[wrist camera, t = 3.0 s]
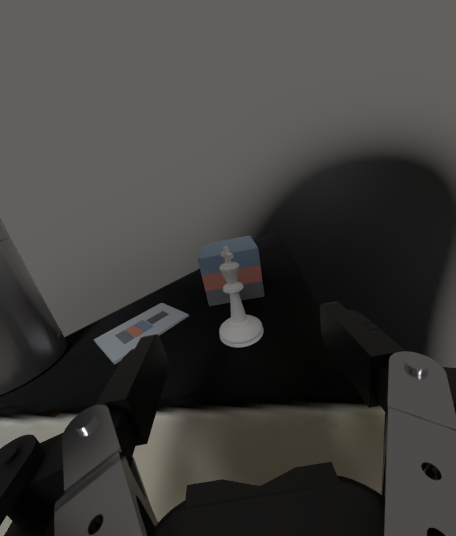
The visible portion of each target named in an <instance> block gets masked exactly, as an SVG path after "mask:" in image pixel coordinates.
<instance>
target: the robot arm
mask: <svg viewBox="0 0 456 536" xmlns="http://www.w3.org/2000/svg"><path fill="white" fill-rule="evenodd" d="M320 320H321V334H322V338H323V340H324V343H325V344H326V346H327V347H328V349H329V350H330V352H331V353H332V355H333V356H334V357H335V359H336V360H337V362H338V363H339V365H340V366H341V368H342V369H343V370H344V372H345V373H346V375H347V376H348V378H349V379H350V381H351V382H352V383H353V385H354V386H355V388H356V389H357V391H358V392H359V394H360V395H361V396H362V398H363V399H364V401H365V402H366V404H367V405H368V407H375V406H381V407H382V408H383V410H384V411H385V426H384V450H383V472H382V490H381V494H379V493H378V492H376V491H375V490H373V489H371V488H369V487H368V486H366V485H364V484H362V483H359V482H357V481H355V480H352V479H349V478H346V477H342V476H337V475H336V472H335V470H334V467H333V465H332V462H327V463H321V464H315V465H309V466H303V467H296V468H294V469H292V470H290V471H288V472H286V473H284V474H283V475H281V476H279V477H277V478H275V479H273V480H271V481H269V482H268V483H266V484H264V485H261V486H255V485H250V484H244V483H239V482H233V481H227V480H216V481H210V482H204V483H198V484H191V485H187V492H186V500H185V501H183V502H182V503H180V504H179V505H177V506H176V507H175V508H173V509H172V510H171V511H170V512H169V513H167V514H166V515H165V516H164V517H163V518H162V519H161V520H160V521H159V523H158V521H157V519H156V517H155V515H154V512H153V510H152V507H151V505H150V502H149V499H148V496H147V494H146V491H145V488H144V485H143V482H142V479H141V476H140V474H139V471H138V468H137V465H136V462H135V459H134V457H133V452H134V449H135V446H137V445H143V444H147V442H148V439H149V435H150V432H151V428H152V425H153V421H154V418H155V415H156V411H157V408H158V404H159V401H160V397H161V394H162V390H163V387H164V384H165V380H166V377H167V373H168V359H167V356H166V353H165V350H164V348H163V345H162V342H161V339H160V337H159V335H158V334H155V335H149V336H144V337H141V338H140V340H139V342H138V343H137V345H136V347H135V349H131V350H130V351H129V352H128V353H127V354H126V355H125V356H124V357H123V358H122V360H121V362H120V363H119V365H118V368H117V369H116V370H115V372H114V374H113V377H111V379H110V380H109V382H108V384H107V386H106V387H105V389H104V391H103V392H102V394H101V396H100V398H99V399H98V401H97V403H96V404H95V406H92V407H90V408H87V409H86V410H84V411H83V412H81V413H80V414H79V415H77V416H76V417H75V418H74V419H73V420H72V421H71V422H70V423H69V425H68V426H67V428H66V429H65V431H64V433H62V434H59V435H57V436H55V437H53V438H51V439H48V440H46V441H44V442H42V443H39V442H38V440H37V439H36V437H35V436H34V435H24V436H21V437H19V438H17V439H15V440H13V441H11V442H9V443H8V444H6V445H5V446H4V447H2V448H1V449H0V525H1V524H2V522H3V520H4V519H5V517H6V516H8V517H9V518H10V519H11V520H12V523H11V525H10V527H9V528H8V530H7V532H6V533H5V535H4V536H456V368H446V367H442V366H441V365H440V364H438V363H437V362H436V361H434V360H432V359H431V358H429V357H427V356H424V355H421V354H418V353H414V352H406V351H405V350H403V348H401V347H400V346H399V345H397V343H395V342H394V341H393V340H392V339H391V338H390V337H389V336H387V335H386V334H385V333H384V332H383V331H381V330H380V329H378V327H377V326H376V325H375V324H373V323H372V322H371V321H370V320H368V319H367V318H366V317H365V316H364V315H362V314H360V313H358V312H356V311H354V310H347V309H345V308H344V307H343V306H342V305H341V304H340V303H339V302H331V303H326V304H321V305H320ZM66 347H67V342H66V340H65V338H64V336H63V334H62V332H61V330H60V328H59V327H58V325H57V323H56V321H55V319H54V318H53V316H52V314H51V312H50V310H49V308H48V306H47V304H46V303H45V301H44V299H43V297H42V295H41V293H40V292H39V290H38V288H37V286H36V284H35V282H34V280H33V279H32V277H31V275H30V273H29V271H28V270H27V267H26V266H25V264H24V262H23V260H22V258H21V256H20V254H19V253H18V251H17V249H16V247H15V245H14V243H13V241H12V240H11V238H10V236H9V234H8V232H7V230H6V228H5V227H4V225H3V223H2V221H1V219H0V395H2V394H4V393H7V392H9V391H11V390H13V389H15V388H17V387H19V386H21V385H23V384H25V383H27V382H28V381H30V380H32V379H33V378H35V377H36V376H38V375H39V374H41V373H42V372H44V371H45V370H46V369H48V368H49V367H50V366H51V365H53V364H54V363H55V362H56V361H57V360H58V359H59V358H60V357H61V356H62V354H63V353H64V351H65V350H66Z"/></svg>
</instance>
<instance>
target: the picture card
mask: <svg viewBox="0 0 456 536" xmlns="http://www.w3.org/2000/svg"><path fill="white" fill-rule="evenodd" d="M188 316H189V315H188V314H186V313H184V312H182V311H180V310H177V309H175V308H173V307H170V306H168V305H166V304H164V303H160V304H158V305H157V306H155V307H153V308H151V309H149V310H147V311H146V312H144V313H142V314H140V315H138V316H136V317H135V318H133V319H131V320H129V321H127V322H125V323H124V324H122V325H120V326H118V327H116V328H114V329H113V330H111V331H109V332H107V333H105V334H103V335H101V336H100V337H98V338H96V339H94V341H95V343H96V344H97V345H98V346H99V347H100V348H101V350H102V351H103V352H104V353H105V354H106V355H107V356H108V358H109V359H110V360H111V361H112V362H113V363H114V364H116V363H118V362H119V361H121V360H122V358H123V357H124V356H125V355H126V354H127V353H128V352H129V351H130V350H131V349H135V347H136V345H137V343H138V342H139V340H140V338H141V337H144V336H149V335H155V334H158V335H161V334H162V333H164V332H165V331H167V330H168V329H170V328H172V327H173V326H175V325H176V324H178V323H179V322H181V321H182V320H184V319H185V318H187V317H188Z"/></svg>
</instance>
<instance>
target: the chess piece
mask: <svg viewBox="0 0 456 536" xmlns="http://www.w3.org/2000/svg"><path fill="white" fill-rule="evenodd" d="M222 248H223V252H220V253H221V257H224V258H225V263H224V264H222V265H221V266H220V267H219V270H220V272H221V273H222V275H223V276H224V278H225V280H226V282H227V284H226V285H224V287H223V291H224V292H225V293H230V306H231V318H229V319H227V320H226V321H225V322H224V323H223V324H222V325H221V327H220V330H219V332H220V339H221V341H222V342H223V343H224V344H226V345H228V346H230V347H246V346H249V345H252V344H254V343H256V342H257V341H258V340H259V339H260V338H261V337H262V335H263V332H264V330H263V326H262V323H261V321H260V320H259V319H258V318H256V317H254V316H251V315H246V314H245V311H244V308H243V305H242V302H241V299H240V295H239V291H241V290H242V289H243V285H242V283H241V282H237V278H238V271H239V264H238V263H237V262H231V259H232V258H234V257H233V254H232V253H230V252H229V247H228V246H224V247H222Z"/></svg>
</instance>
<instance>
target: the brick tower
mask: <svg viewBox="0 0 456 536" xmlns="http://www.w3.org/2000/svg"><path fill="white" fill-rule="evenodd" d="M224 246H228V247H229V252H230V253H232V254H233V257H234V258H232V259H231V262H237V263H238V264H239V271H238V278H237V282H241V283H242V285H243V289H242V290H241V291H239V295H240V299H241V301H242V300H247V299H253V298H259V297H264V289H263V282H262V274H261V267H260V260H259V252H258V247H257V246H256V244H255V243H254V241H253V240H252V238H251V237H250V236H245V237H239V238H234V239H229V240H223V241H218V242H212V243H207V244H203V245H202V247H201V250H200V254H199V257H198V262H199V266H200V270H201V275H202V279H203V283H204V287H205V291H206V295H207V300H208V304H209V306H214V305H219V304H225V303H230V293H225V292H224V291H223V287H224V285H226V284H227V282H226V280H225V278H224V276H223V275H222V273H221V272H220V270H219V267H220V266H221V265H222V264H224V263H225V258H224V257H221V253H220V252H223V248H222V247H224Z"/></svg>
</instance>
